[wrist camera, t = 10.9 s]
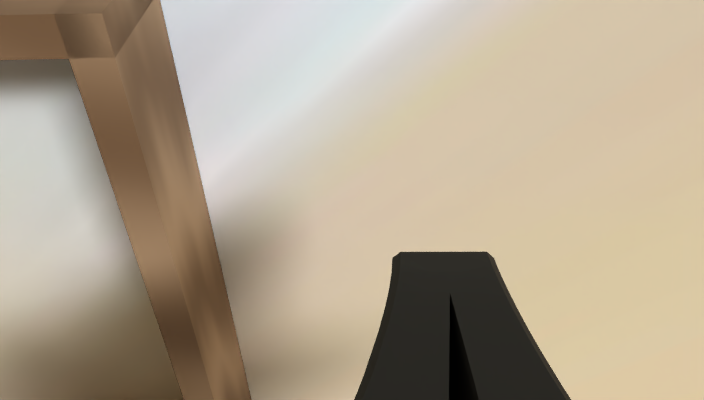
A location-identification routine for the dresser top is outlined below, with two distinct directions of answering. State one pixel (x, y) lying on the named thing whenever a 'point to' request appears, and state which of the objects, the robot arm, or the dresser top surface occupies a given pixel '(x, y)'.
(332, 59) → the dresser top surface
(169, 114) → the open box
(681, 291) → the dresser top surface
